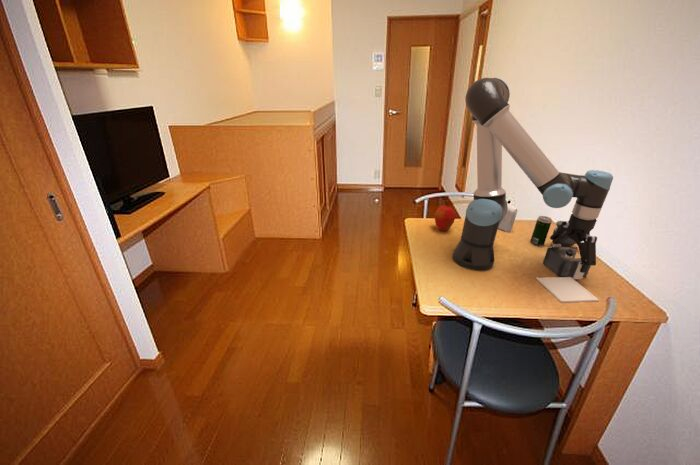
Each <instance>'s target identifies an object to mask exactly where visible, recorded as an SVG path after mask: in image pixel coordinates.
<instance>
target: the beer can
mask: <svg viewBox="0 0 700 465" xmlns="http://www.w3.org/2000/svg"><path fill="white" fill-rule="evenodd" d="M535 222H536V223H535V226H534V229H533V231H532V235H531V237H530V244H531V245H534V246H535V247H542V246H544V245H545V242H546V240H547V237H548V234H549V231H550V228H551V225H552V218H551V217H549V216H545V215H539V216H538V217H537V218H536V221H535Z"/></svg>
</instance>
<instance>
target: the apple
mask: <svg viewBox="0 0 700 465" xmlns="http://www.w3.org/2000/svg"><path fill="white" fill-rule="evenodd" d="M455 220H456V211H455V209H454V208H453V207H451V206H448V205H441V206H439V207H438V208H436V210H435V213H434V221H435V222H434V223H435V226H436V228H438V230H440V231H443V232H446V231H448V230H449V229H451V227H453V224H454V223H455Z"/></svg>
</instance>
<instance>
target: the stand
mask: <svg viewBox="0 0 700 465" xmlns="http://www.w3.org/2000/svg"><path fill="white" fill-rule="evenodd" d="M573 255H574V250H572V249H568V250H567V251H566V254H565V257H566V258H572V257H573Z"/></svg>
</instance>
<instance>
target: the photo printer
mask: <svg viewBox="0 0 700 465" xmlns="http://www.w3.org/2000/svg"><path fill="white" fill-rule="evenodd" d="M507 206H508V209H507V213H506V215H505V217H504V218H503V219H502V221H501V223H500V225H499V226H498V230H501V231H503V232H506V233H510V232H512V230H513V227H514V224H515V221H516V217H517V213H518V209H517V208H516V207H515V206H514V205H512V204H510V203H507Z"/></svg>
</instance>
